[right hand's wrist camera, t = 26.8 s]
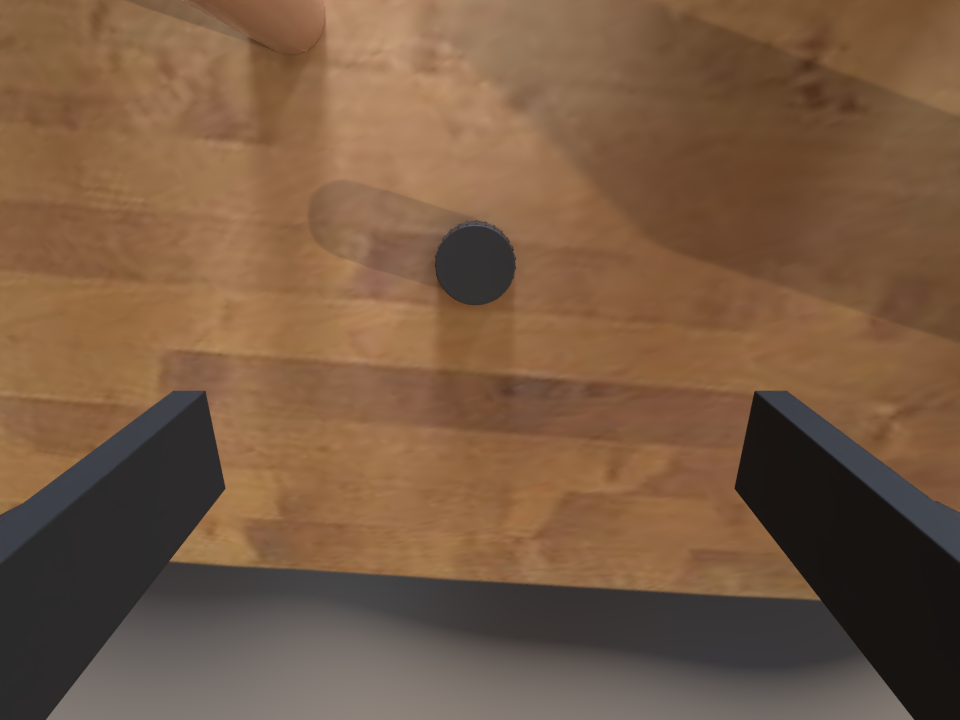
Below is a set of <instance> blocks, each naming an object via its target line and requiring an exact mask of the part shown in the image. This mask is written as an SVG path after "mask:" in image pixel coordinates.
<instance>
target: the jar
mask: <svg viewBox="0 0 960 720" xmlns="http://www.w3.org/2000/svg"><path fill="white" fill-rule="evenodd" d="M181 1H183V2H185V3H187V4H189V5H191V6H193V7H194V8H196V9H198V10H200V11H202V12H204V13H206V14H207V15H209V16H211V17H213V18H215V19H217V20H219V21H220V22H222V23H224V24H226V25H228V26H230V27H232V28H233V29H235V30H237V31H239V32H241V33H243V34H245V35H246V36H248V37H250V38H252V39H254V40H256V41H258V42H259V43H261V44H263V45H265V46H267V47H269V48H271V49H272V50H274V51H277V52H279V53H282V54H287V55H295V54H300V53H303V52H305V51H307V50H309V49H310V48H311V47H312V46H313V45H314V44H315V43H316V42H317V41H318V39H319V37H320V36H321V33H322V31H323V27H324V22H325V8H324V3H323V0H181Z"/></svg>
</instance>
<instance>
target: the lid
mask: <svg viewBox="0 0 960 720" xmlns="http://www.w3.org/2000/svg"><path fill="white" fill-rule="evenodd" d="M438 249H439V250H438V252H437V254H436V256H435V257H436V264H435V267H436V275H437V277H438V280H439V282H440V284H441V286H442V288H443V289H444V290H445V291H446V292H447V293H448V294H449V295H450V296H451V297H452V298H454V299H455V300H457V301H459V302H462V303H465V304H470V305H481V304H486V303H489V302H492V301H494V300H496V299H497V298H499V297H500V296H501V295H502V294H503V293H504V292H505V291H506V290H507V289H508V287H509V286H510V284H511V282H512V280H513V278H514V273H515V269H516V267H515V260H516V258H515V255H514V253H513V251H514V250H513V247H512V245H510V243H509V239H508V237H507V238H506V236H505V235H504V234H503V231H502V230H501V231H500V230H499V229H497V228H496V227H495V225H494V226H492V225H490V224H488V223H487V222H485V223H484V222H477V220H476V222H468V221H467V223H463V224H461V225H460V224H458V226H457V227H455V228H454V229H453V230H452V229H451V230H450V232H449V233H448V234H447V235H446V236H444V238H443V241H442V243H440V245H439V247H438Z"/></svg>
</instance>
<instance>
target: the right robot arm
mask: <svg viewBox="0 0 960 720" xmlns="http://www.w3.org/2000/svg"><path fill="white" fill-rule="evenodd" d="M224 490H225V484H224V479H223V474H222V469H221V464H220V460H219V455H218V450H217V445H216V440H215V435H214V430H213V426H212V421H211V416H210V411H209V406H208V401H207V397H206V392H205V391H173V392H171V393H170V394H169V395H167V396H166V397H165V398H163V399H162V400H161V401H159V402H158V403H157V404H155V405H154V406H152V407H151V408H150V409H148V410H147V411H146V412H144V413H143V414H142V415H140V416H139V417H138V418H136V419H135V420H134V421H132V422H131V423H130V424H128V425H127V426H126V427H124V428H123V429H122V430H120V431H119V432H118V433H116V434H115V435H114V436H112V437H111V438H110V439H108V440H107V441H106V442H104V443H103V444H102V445H100V446H99V447H98V448H96V449H95V450H94V451H92V452H91V453H90V454H88V455H87V456H86V457H84V458H83V459H82V460H80V461H79V462H78V463H76V464H75V465H74V466H72V467H71V468H70V469H68V470H67V471H66V472H64V473H63V474H62V475H60V476H59V477H58V478H56V479H55V480H54V481H52V482H51V483H50V484H48V485H47V486H46V487H44V488H43V489H42V490H40V491H39V492H38V493H36V494H35V495H34V496H32V497H31V498H30V499H28V500H27V501H26V502H24V503H23V504H21V505H19V506H17V507H15V508H13V509H11V510H9V511H7V512H5V513H3V514H1V515H0V720H46V719H47V717H48V716H49V715H50V713H51V712H52V711H53V710H54V708H55V707H56V706H57V704H58V703H59V702H60V701H61V699H62V698H63V697H64V695H65V694H66V693H67V692H68V690H69V689H70V688H71V687H72V685H73V684H74V683H75V681H76V680H77V679H78V678H79V676H80V675H81V674H82V672H83V671H84V670H85V669H86V667H87V666H88V665H89V663H90V662H91V661H92V660H93V658H94V657H95V656H96V654H97V653H98V652H99V650H100V649H101V648H102V647H103V645H104V644H105V643H106V642H107V640H108V639H109V638H110V636H111V635H112V634H113V633H114V631H115V630H116V629H117V627H118V626H119V625H120V623H121V622H122V621H123V620H124V618H125V617H126V616H127V615H128V613H129V612H130V611H131V609H132V608H133V607H134V606H135V604H136V603H137V602H138V600H139V599H140V598H141V597H142V595H143V594H144V593H145V591H146V590H147V589H148V587H149V586H150V585H151V584H152V582H153V581H154V580H155V578H156V577H157V576H158V575H159V573H160V572H161V571H162V570H163V568H164V567H165V566H166V564H167V563H168V562H169V561H170V559H171V558H172V557H173V555H174V554H175V553H176V552H177V550H178V549H179V548H180V546H181V545H182V544H183V543H184V541H185V540H186V539H187V537H188V536H189V535H190V534H191V532H192V531H193V530H194V528H195V527H196V526H197V525H198V523H199V522H200V521H201V519H202V518H203V517H204V516H205V514H206V513H207V512H208V510H209V509H210V508H211V507H212V505H213V504H214V503H215V501H216V500H217V499H218V498H219V496H220V495H221V494H222V492H223V491H224ZM735 490H736V491H737V492H738V494H739V495H740V496H741V498H742V499H743V500H744V501H745V503H746V504H747V505H748V507H749V508H750V509H751V510H752V512H753V513H754V514H755V516H756V517H757V518H758V519H759V521H760V522H761V523H762V525H763V526H764V527H765V528H766V530H767V531H768V532H769V534H770V535H771V536H772V537H773V539H774V540H775V541H776V543H777V544H778V545H779V546H780V548H781V549H782V550H783V552H784V553H785V554H786V555H787V557H788V558H789V559H790V561H791V562H792V563H793V564H794V566H795V567H796V568H797V570H798V571H799V572H800V573H801V575H802V576H803V577H804V579H805V580H806V581H807V582H808V584H809V585H810V586H811V588H812V589H813V590H814V591H815V593H816V594H817V595H818V597H819V598H820V599H821V600H822V602H823V603H824V604H825V605H826V607H827V608H828V609H829V611H830V612H831V613H832V615H833V616H834V617H835V618H836V620H837V621H838V622H839V624H840V625H841V626H842V627H843V629H844V630H845V631H846V632H847V634H848V635H849V636H850V638H851V639H852V640H853V642H854V643H855V644H856V645H857V647H858V648H859V649H860V650H861V652H862V653H863V654H864V656H865V657H866V658H867V660H868V661H869V662H870V663H871V665H872V666H873V667H874V669H875V670H876V671H877V672H878V674H879V675H880V676H881V677H882V679H883V680H884V681H885V683H886V684H887V685H888V687H889V688H890V689H891V690H892V692H893V693H894V694H895V696H896V697H897V698H898V699H899V701H900V702H901V703H902V705H903V706H904V707H905V708H906V710H907V711H908V712H909V713H910V715H911V716H912V717H913V719H914V720H960V512H958V511H956V510H954V509H952V508H950V507H948V506H946V505H944V504H942V503H940V502H934V501H933V500H932V499H930V498H929V497H928V496H926V495H925V494H924V493H922V492H921V491H920V490H918V489H917V488H916V487H914V486H913V485H912V484H910V483H909V482H908V481H906V480H905V479H904V478H902V477H901V476H900V475H898V474H897V473H896V472H894V471H893V470H892V469H890V468H889V467H888V466H886V465H885V464H884V463H882V462H881V461H880V460H878V459H877V458H876V457H874V456H873V455H872V454H870V453H869V452H868V451H866V450H865V449H864V448H862V447H861V446H860V445H858V444H857V443H856V442H854V441H853V440H852V439H850V438H849V437H848V436H846V435H845V434H844V433H842V432H841V431H840V430H838V429H837V428H836V427H834V426H833V425H832V424H830V423H829V422H828V421H826V420H825V419H824V418H822V417H821V416H820V415H818V414H817V413H816V412H814V411H813V410H812V409H810V408H809V407H808V406H806V405H805V404H803V403H802V402H801V401H799V400H798V399H797V398H795V397H794V396H793V395H791V394H790V393H789V392H787V391H755V392H754V397H753V401H752V406H751V411H750V416H749V421H748V426H747V430H746V435H745V440H744V445H743V450H742V455H741V460H740V464H739V469H738V474H737V479H736V484H735Z"/></svg>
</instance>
